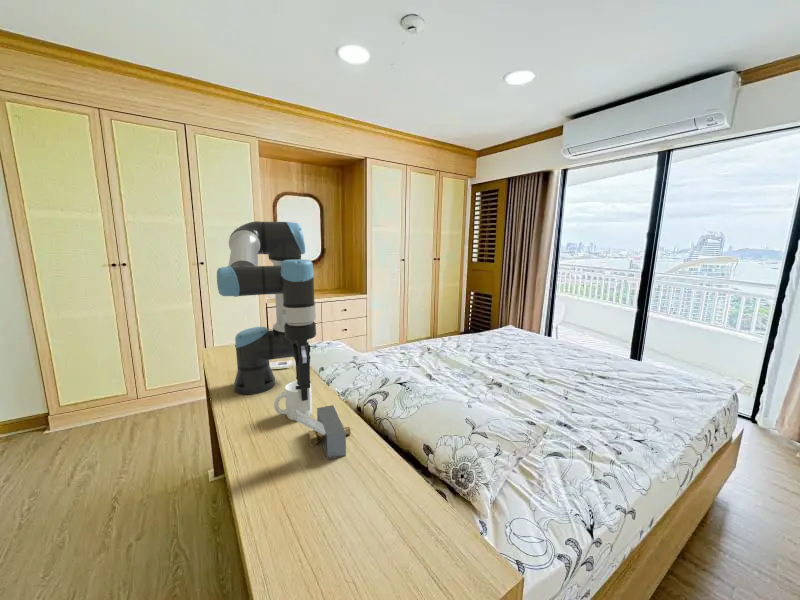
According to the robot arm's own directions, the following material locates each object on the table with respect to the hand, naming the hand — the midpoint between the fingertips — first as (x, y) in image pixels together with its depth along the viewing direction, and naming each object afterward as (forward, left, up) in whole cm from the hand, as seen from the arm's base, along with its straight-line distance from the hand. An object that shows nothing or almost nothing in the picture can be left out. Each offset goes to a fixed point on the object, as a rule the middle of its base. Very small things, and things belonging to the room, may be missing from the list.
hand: (304, 409), depth 87 cm
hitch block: (-5, +8, -14) cm, 17 cm away
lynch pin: (-7, +8, -14) cm, 17 cm away
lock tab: (0, +1, -4) cm, 4 cm away
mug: (-24, -1, -14) cm, 28 cm away
